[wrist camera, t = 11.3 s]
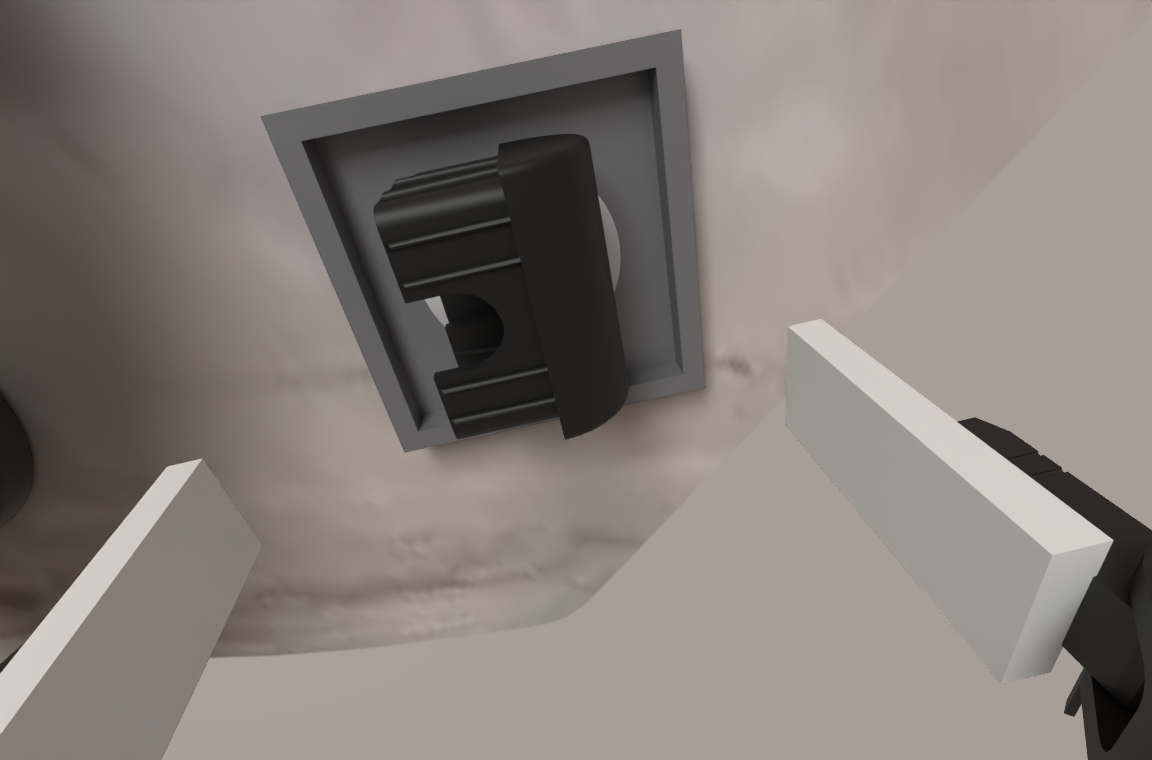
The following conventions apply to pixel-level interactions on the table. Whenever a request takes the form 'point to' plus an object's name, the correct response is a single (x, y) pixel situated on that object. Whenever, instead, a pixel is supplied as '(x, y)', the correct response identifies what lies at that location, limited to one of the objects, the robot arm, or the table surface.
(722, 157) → the table surface
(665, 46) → the grey square tray
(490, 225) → the end cap
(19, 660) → the robot arm
